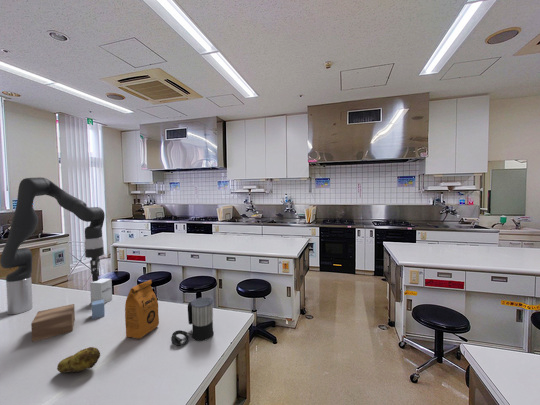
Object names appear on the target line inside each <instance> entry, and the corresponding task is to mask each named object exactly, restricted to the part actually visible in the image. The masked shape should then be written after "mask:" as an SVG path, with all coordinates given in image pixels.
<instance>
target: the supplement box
mask: <svg viewBox="0 0 540 405" xmlns="http://www.w3.org/2000/svg"><path fill="white" fill-rule="evenodd" d="M112 281H113V280H112V278H100V279H99V278H98V281H94V282H93V281H91V282H90V283H89V284H90V286H89V287H90V288H89V289H90V305H92V302H93V301H98V300H103V299H104V305H105V304H107V303H109V302H110V301H113V288H112V287H113V286H112V285H113V283H112Z"/></svg>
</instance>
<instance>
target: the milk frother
mask: <svg viewBox="0 0 540 405" xmlns="http://www.w3.org/2000/svg"><path fill="white" fill-rule="evenodd" d="M213 304H214V299H213V298H211V297H208V296H204V297H203V296H202V297H198V298H194V299H193V300H191V301H190V302H188V304H187V318H188V325H192V330H191V332H187V331H185V330H181V329H180V330H175V331H174V332H173V333H172V335H171V337H170V340H171V344H172V345H173V346H175V347H178V348H179V347H184V346H185V345H186V344H188V342H189V340H190V337H189V335H190V336H191V339H192V340H194V341H197V342H203V341H207V340H209V339H211V338H212V337H213V336H214V333H215V332H214V319H213V317H214V313H213V312H214V310H213V307H214V306H213ZM178 335H183V336H184V337H185V340H184V341H183V338H180V337H179V336H178ZM182 341H183V342H182Z"/></svg>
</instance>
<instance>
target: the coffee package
mask: <svg viewBox="0 0 540 405" xmlns="http://www.w3.org/2000/svg"><path fill="white" fill-rule="evenodd" d="M152 283H153V281H152V279H149V280H146V281H144V282H141V283H139V284H137V285H135V286H133V287H131V288H130V289H129V292H128V295H127V296H126V299H125V306H124V312H125V314H124V321H125V337H126V338H133V339H142V338H143V337H144V336H145V335H147V334H149V333H150V332H152V331H153V330H155V329H156V328H158V327H159V324H160V319H159V317H160V316H159V302H158V297H157V296H156V293H155V292H154V291H153V288H152V286H151V285H152Z"/></svg>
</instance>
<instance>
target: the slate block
mask: <svg viewBox="0 0 540 405" xmlns="http://www.w3.org/2000/svg"><path fill="white" fill-rule="evenodd" d="M105 314H106V313H105V304H104V299H103V300H98V301H93V302H92V304H91V319H92V320H95V319H99V318H102V317H105Z"/></svg>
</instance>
